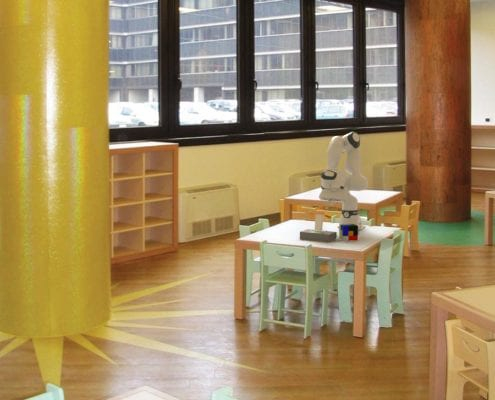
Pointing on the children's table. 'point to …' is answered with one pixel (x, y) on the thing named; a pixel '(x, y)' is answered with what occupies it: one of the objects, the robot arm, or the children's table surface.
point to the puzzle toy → (348, 232)
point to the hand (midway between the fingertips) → (329, 204)
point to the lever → (319, 220)
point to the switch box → (318, 235)
